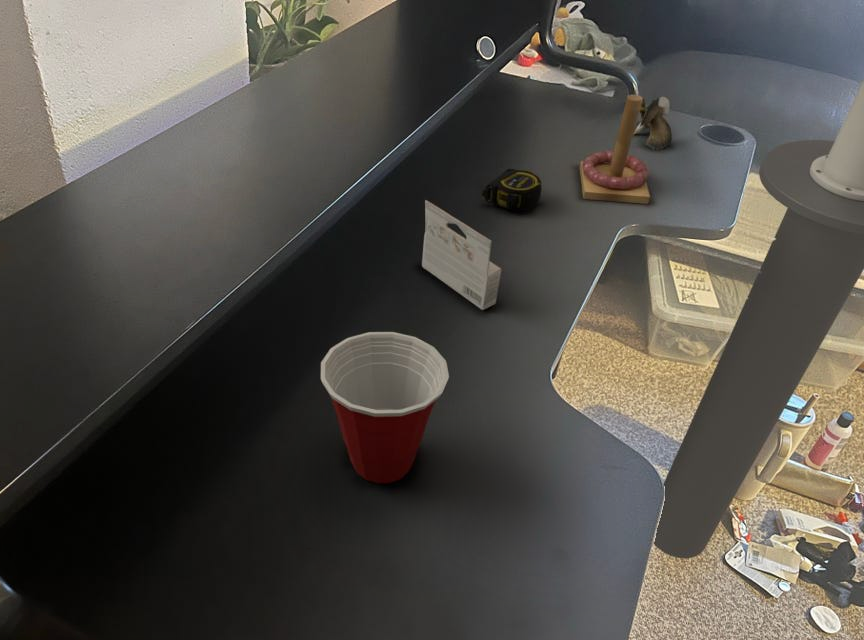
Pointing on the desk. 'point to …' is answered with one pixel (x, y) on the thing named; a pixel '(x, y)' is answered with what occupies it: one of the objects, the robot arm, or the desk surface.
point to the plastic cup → (383, 398)
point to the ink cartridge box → (459, 258)
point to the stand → (619, 163)
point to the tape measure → (514, 190)
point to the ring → (615, 181)
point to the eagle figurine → (656, 123)
